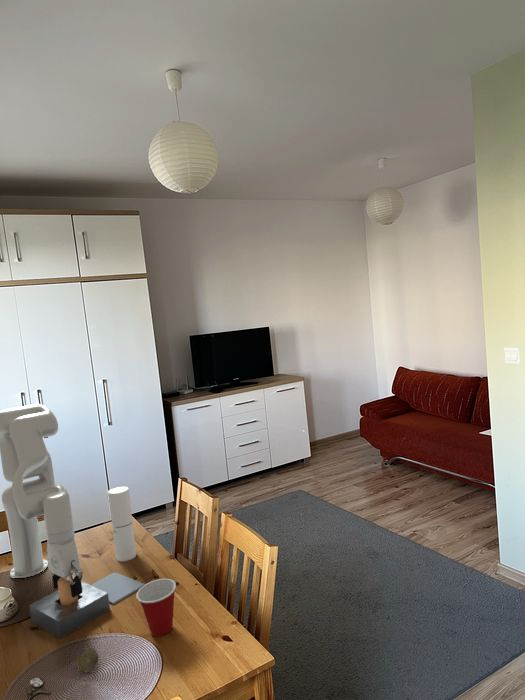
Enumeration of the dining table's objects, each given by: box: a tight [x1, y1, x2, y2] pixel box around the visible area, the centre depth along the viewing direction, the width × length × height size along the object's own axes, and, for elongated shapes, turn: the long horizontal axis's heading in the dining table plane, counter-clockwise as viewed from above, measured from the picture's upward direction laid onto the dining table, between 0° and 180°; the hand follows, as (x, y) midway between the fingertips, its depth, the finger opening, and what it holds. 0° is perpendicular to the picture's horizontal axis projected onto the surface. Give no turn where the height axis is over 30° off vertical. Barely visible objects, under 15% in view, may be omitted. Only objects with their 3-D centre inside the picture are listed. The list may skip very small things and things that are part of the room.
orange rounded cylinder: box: [57, 575, 78, 607], centre depth 152 cm, size 5×5×11 cm
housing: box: [29, 580, 111, 640], centre depth 152 cm, size 16×16×5 cm
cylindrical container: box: [107, 486, 137, 562], centre depth 186 cm, size 7×7×25 cm
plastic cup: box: [136, 578, 177, 637], centre depth 140 cm, size 11×11×12 cm
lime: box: [77, 647, 99, 673], centre depth 127 cm, size 4×5×5 cm
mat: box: [90, 571, 145, 605], centre depth 165 cm, size 16×12×1 cm
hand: (68, 590), depth 151 cm, fingers open, 9 cm apart
